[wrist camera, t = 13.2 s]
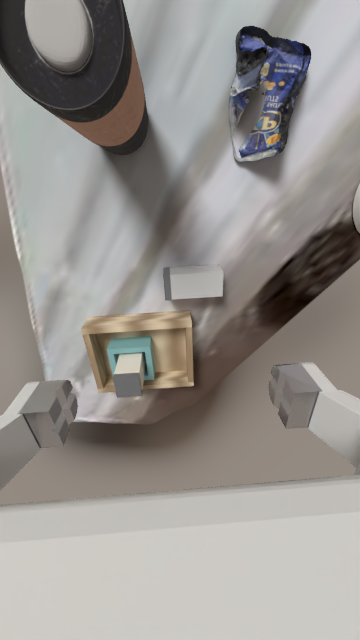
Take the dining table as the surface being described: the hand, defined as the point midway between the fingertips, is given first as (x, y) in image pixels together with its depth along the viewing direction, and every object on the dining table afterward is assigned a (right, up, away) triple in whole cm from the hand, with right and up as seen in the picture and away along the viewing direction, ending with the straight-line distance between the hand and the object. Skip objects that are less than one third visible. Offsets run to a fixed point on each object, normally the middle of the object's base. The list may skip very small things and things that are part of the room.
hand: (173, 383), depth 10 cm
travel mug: (-7, +28, +20) cm, 35 cm away
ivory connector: (-8, -4, +36) cm, 37 cm away
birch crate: (-7, -2, +36) cm, 37 cm away
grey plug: (+3, +10, +30) cm, 32 cm away
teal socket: (-9, -3, +37) cm, 38 cm away
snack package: (+10, +30, +20) cm, 38 cm away
